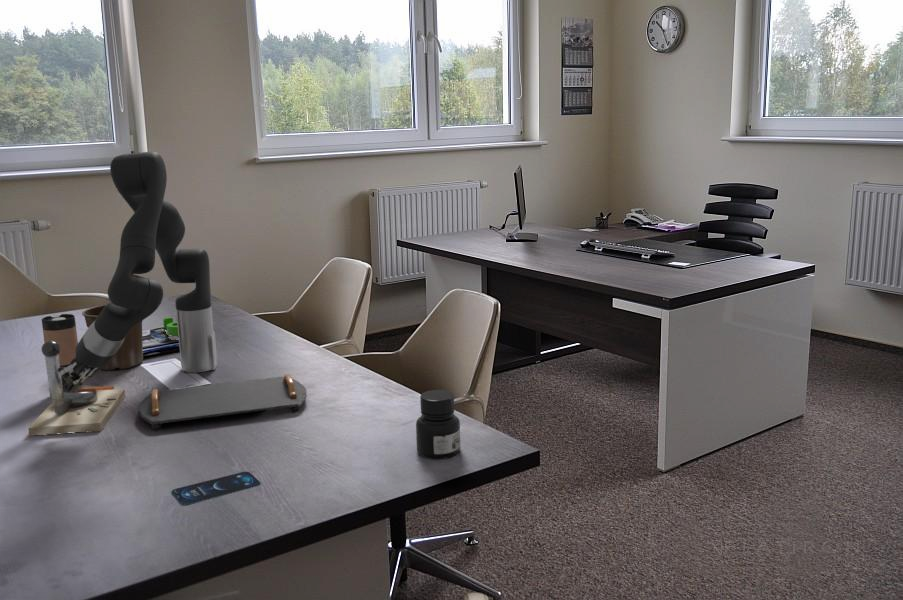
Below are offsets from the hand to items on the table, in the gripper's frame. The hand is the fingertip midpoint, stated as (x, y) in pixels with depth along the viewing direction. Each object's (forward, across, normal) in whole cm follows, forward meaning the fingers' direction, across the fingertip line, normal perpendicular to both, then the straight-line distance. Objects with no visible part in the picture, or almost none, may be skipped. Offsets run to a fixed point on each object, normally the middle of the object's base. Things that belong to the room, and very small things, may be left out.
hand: (68, 388), depth 188 cm
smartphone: (-31, +12, +44) cm, 55 cm away
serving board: (-10, -24, +23) cm, 35 cm away
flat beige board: (+9, -6, +3) cm, 11 cm away
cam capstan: (+8, -7, +2) cm, 10 cm away
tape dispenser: (+33, -72, -20) cm, 81 cm away
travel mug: (+21, -15, -8) cm, 27 cm away
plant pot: (+27, -40, -14) cm, 50 cm away
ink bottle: (-52, -20, +65) cm, 86 cm away
